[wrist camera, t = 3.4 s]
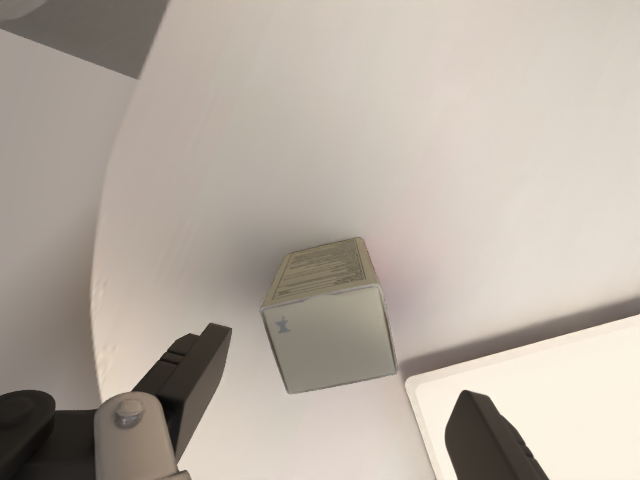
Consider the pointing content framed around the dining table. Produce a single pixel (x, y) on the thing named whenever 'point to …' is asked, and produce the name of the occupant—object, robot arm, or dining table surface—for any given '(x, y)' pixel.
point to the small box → (328, 319)
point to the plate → (550, 401)
